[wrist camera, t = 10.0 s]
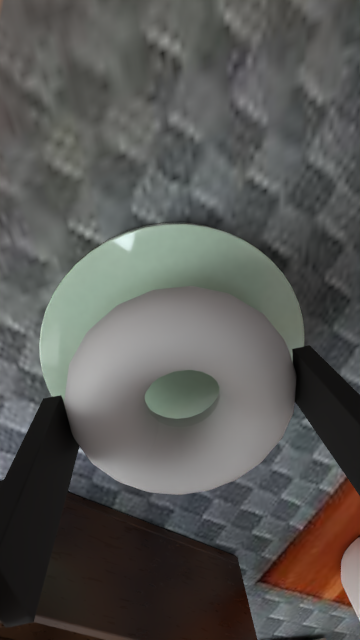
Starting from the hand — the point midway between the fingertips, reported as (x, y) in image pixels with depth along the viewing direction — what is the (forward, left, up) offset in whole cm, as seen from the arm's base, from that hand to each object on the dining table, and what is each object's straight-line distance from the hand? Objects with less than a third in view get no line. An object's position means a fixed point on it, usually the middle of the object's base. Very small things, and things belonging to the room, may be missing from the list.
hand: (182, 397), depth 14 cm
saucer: (0, 0, -4) cm, 4 cm away
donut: (0, 0, -2) cm, 2 cm away
